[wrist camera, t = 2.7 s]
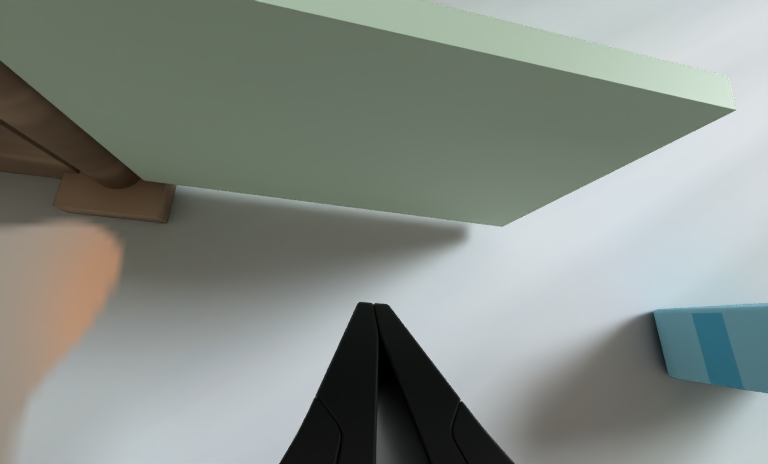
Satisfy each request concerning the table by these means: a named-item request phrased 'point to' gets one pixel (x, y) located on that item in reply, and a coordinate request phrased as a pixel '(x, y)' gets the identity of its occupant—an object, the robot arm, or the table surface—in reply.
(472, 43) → the sage green panel
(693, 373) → the data package
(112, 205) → the brown piece
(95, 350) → the table surface
